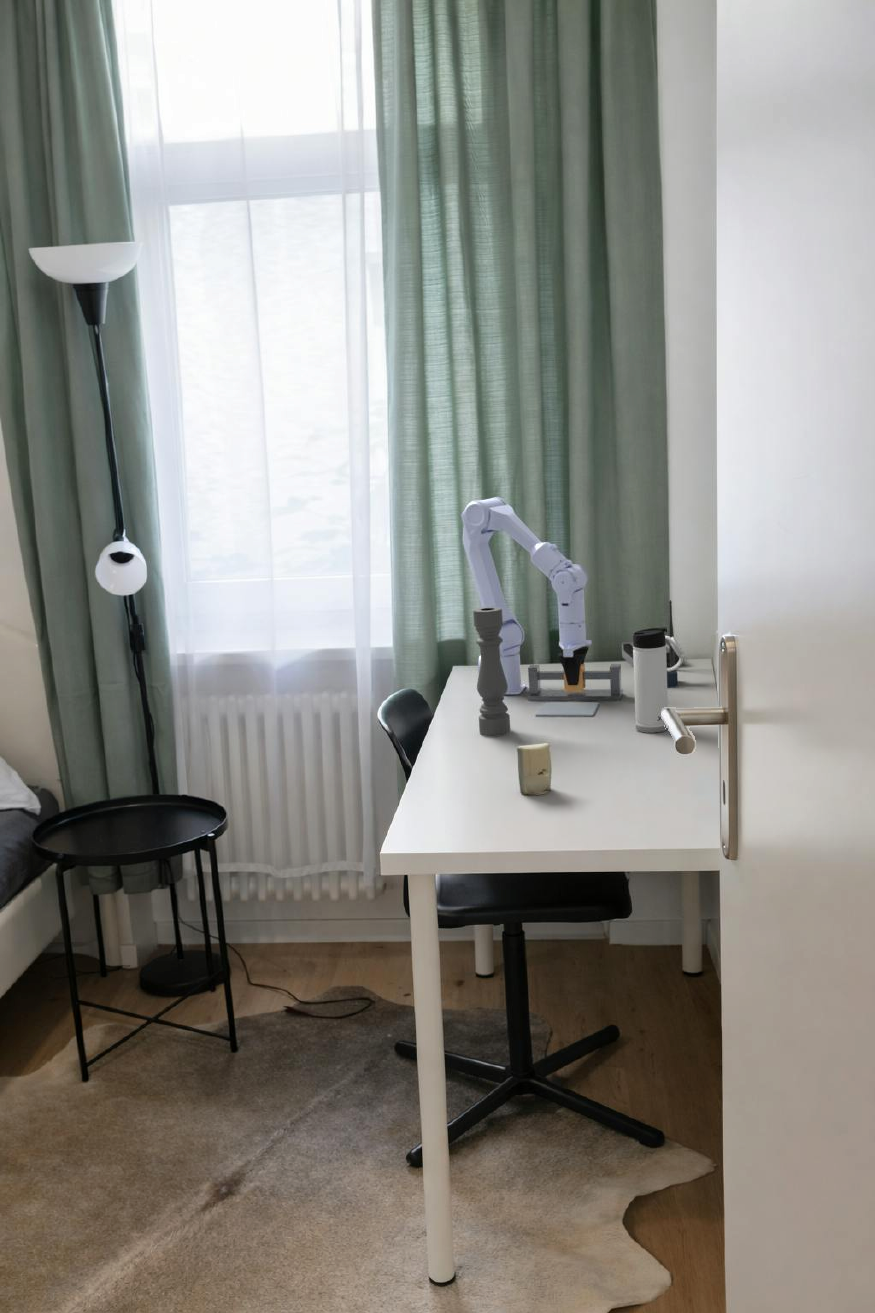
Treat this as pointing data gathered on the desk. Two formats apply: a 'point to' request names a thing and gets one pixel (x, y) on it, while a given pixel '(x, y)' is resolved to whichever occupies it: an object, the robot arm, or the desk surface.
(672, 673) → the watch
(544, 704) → the mat
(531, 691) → the rail stand
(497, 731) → the candle holder
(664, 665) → the travel mug
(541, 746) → the beige tall block
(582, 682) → the clip
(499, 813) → the desk surface
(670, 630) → the wifi router
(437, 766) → the desk surface
